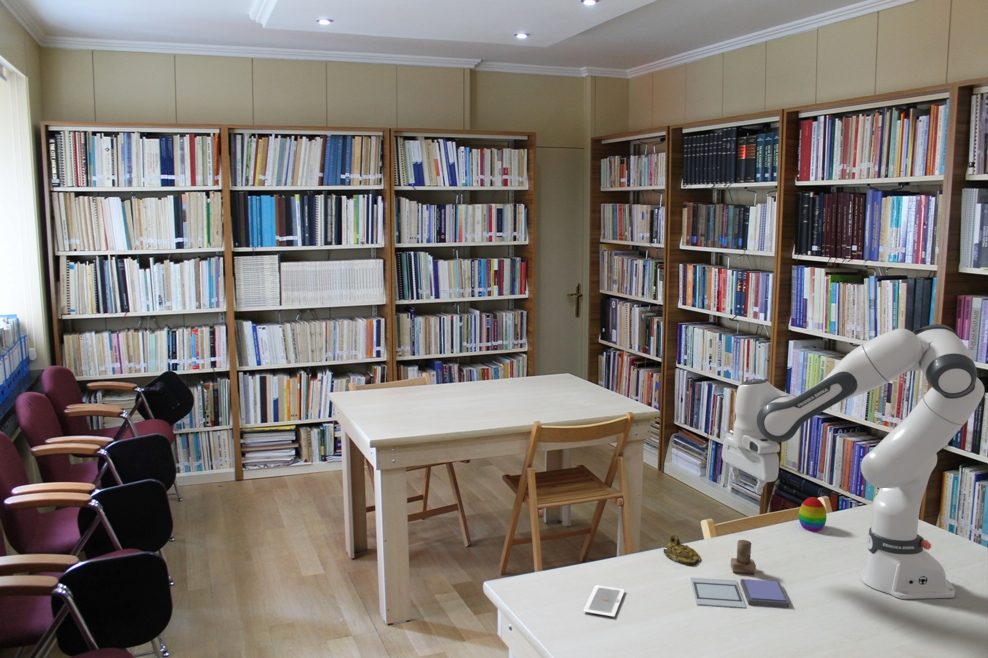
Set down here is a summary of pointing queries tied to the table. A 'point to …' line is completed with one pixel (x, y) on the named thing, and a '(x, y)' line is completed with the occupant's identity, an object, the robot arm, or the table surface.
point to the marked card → (717, 592)
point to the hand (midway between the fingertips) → (747, 487)
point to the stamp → (743, 559)
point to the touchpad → (604, 600)
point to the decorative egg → (812, 514)
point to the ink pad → (764, 593)
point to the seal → (680, 552)
